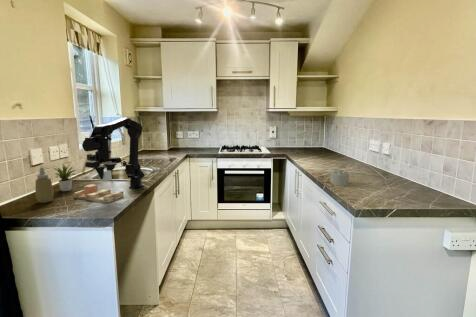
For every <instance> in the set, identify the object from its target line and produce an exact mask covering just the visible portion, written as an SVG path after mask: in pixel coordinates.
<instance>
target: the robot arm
mask: <svg viewBox="0 0 476 317" xmlns="http://www.w3.org/2000/svg"><path fill="white" fill-rule="evenodd" d="M121 128H124V129H125V130H127V135H128V136H129V157H128V158H129V160H128V162H127V163H126V164H125V168H124V171H125V175H126V176H127V179H130V180H129V183H130V184H129V185H130V186H128V188H129V189H134V188H136V189H135V190H137V188H138V189H141V188H144V187H145V185H143V181H142V180H143V178H145V173H144V172H143V171H142V169H141V168H142V167H141V164H140V162H139V143H140V142H139V140H140V137H141V135H143V134H142V133H143V126H142V124H141V123H139V122H137V121H135V120H132V118H130V117H121V118H120V119H117V120H115V121H111V122H109V123H107V124H106V123H104V124H98V125H94V127H93V130H92V131H91V133H90V136H89V137H85V138H84V140H83V141H82V145H81V146H82V149H83V150H84V151H85V152H93V151H95V152H94V154H92V153H88V154H86V160H87V161H86V162H85V164H84V166H85V168H90V169H94V170H95V172H96V173H97V176H98V175H99V177H100V179H103V173H104V170H105V167H106V170H111V174H112V173H113V172H114V169H115V167H116V166H117V164H119V163H120V164H121V163H122V159H121V157H118V156H112V157H111V155H110V154H111V153H112V150H110V143H109V142H110V141H112V140H113V138H111V137H110V135H111V134H113V132H115V131H116V130H118V129H121ZM103 165H105V167H104V166H103ZM99 177H98V178H99Z"/></svg>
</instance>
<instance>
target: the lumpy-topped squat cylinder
mask: <svg viewBox="0 0 476 317" xmlns="http://www.w3.org/2000/svg"><path fill="white" fill-rule="evenodd" d="M349 180H350V173H349V171H348V170H343V169H334V170H331V171H330V178H329V183H330V182H331V183H332V184H331V183H330V184H331V185H333V184H334V186H337V185H339V186H338V187H348V185H349Z"/></svg>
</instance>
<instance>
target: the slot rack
mask: <svg viewBox="0 0 476 317" xmlns="http://www.w3.org/2000/svg"><path fill="white" fill-rule="evenodd" d="M123 196H124V190H123V191H122V190H120V191H117V192H115V193H113V192H112V191H111V189H107V188H103V189H101V190H97V192H93V193H90V194H87V195H85V190H84V189H82V190H80V191H79V190H78V191H76V192H74V199H80V200H86V201H90V202H95V203H96V202H98V203H104V204H107V202H108V203H110V202H113V201H116V200H119V199H121V198H123ZM120 197H121V198H120ZM118 198H119V199H118ZM115 199H116V200H115ZM112 200H113V201H112Z"/></svg>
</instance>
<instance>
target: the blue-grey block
mask: <svg viewBox="0 0 476 317" xmlns="http://www.w3.org/2000/svg"><path fill="white" fill-rule="evenodd" d="M97 176H98V182H99V181H100V182H108V181H111V180H112V178H113V177H112V174H111V170H107V169H104V173H103V179H100V177H99V175H98V174H97Z"/></svg>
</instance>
